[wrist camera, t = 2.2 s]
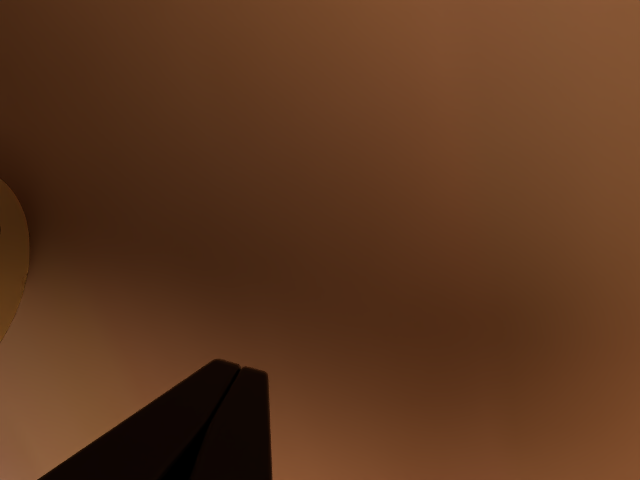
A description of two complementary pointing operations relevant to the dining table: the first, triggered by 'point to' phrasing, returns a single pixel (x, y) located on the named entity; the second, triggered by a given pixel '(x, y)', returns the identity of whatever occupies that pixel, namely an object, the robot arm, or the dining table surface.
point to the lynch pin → (12, 255)
